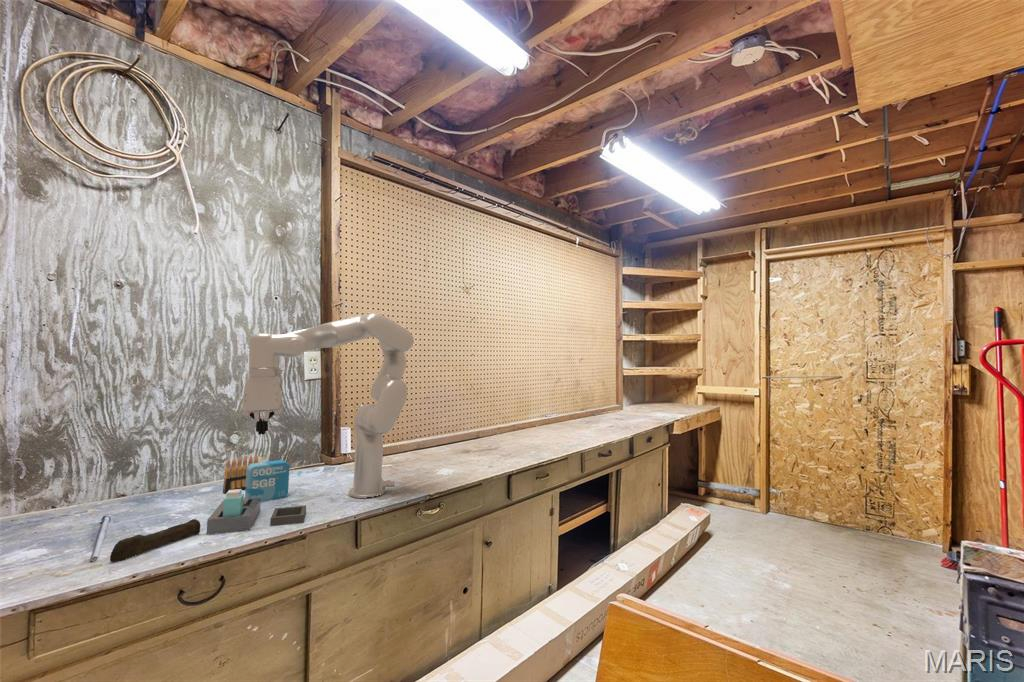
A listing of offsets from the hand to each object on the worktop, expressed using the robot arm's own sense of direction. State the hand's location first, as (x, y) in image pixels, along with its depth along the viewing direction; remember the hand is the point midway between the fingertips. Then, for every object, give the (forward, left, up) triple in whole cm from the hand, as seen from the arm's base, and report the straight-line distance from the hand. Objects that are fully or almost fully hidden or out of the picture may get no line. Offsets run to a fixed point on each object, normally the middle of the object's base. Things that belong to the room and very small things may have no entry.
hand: (262, 433), depth 130 cm
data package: (0, -16, -25) cm, 29 cm away
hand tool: (+19, +17, -25) cm, 36 cm away
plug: (+5, +8, -24) cm, 26 cm away
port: (+5, +4, -24) cm, 25 cm away
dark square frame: (-9, +6, -24) cm, 27 cm away
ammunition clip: (+10, -29, -25) cm, 39 cm away
